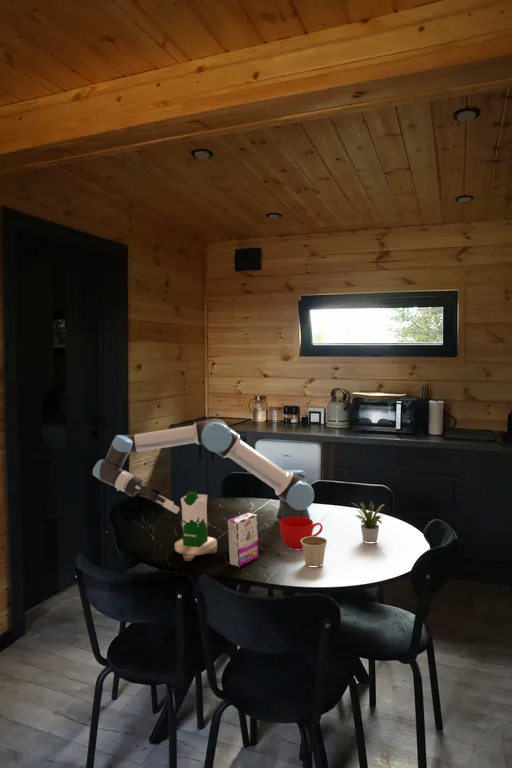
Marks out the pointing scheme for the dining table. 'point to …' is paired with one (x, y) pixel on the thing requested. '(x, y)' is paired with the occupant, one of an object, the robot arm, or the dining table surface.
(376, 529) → the house plant
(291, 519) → the ceramic cup
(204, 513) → the soya milk
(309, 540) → the flower pot
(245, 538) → the candy bar box
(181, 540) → the stand
